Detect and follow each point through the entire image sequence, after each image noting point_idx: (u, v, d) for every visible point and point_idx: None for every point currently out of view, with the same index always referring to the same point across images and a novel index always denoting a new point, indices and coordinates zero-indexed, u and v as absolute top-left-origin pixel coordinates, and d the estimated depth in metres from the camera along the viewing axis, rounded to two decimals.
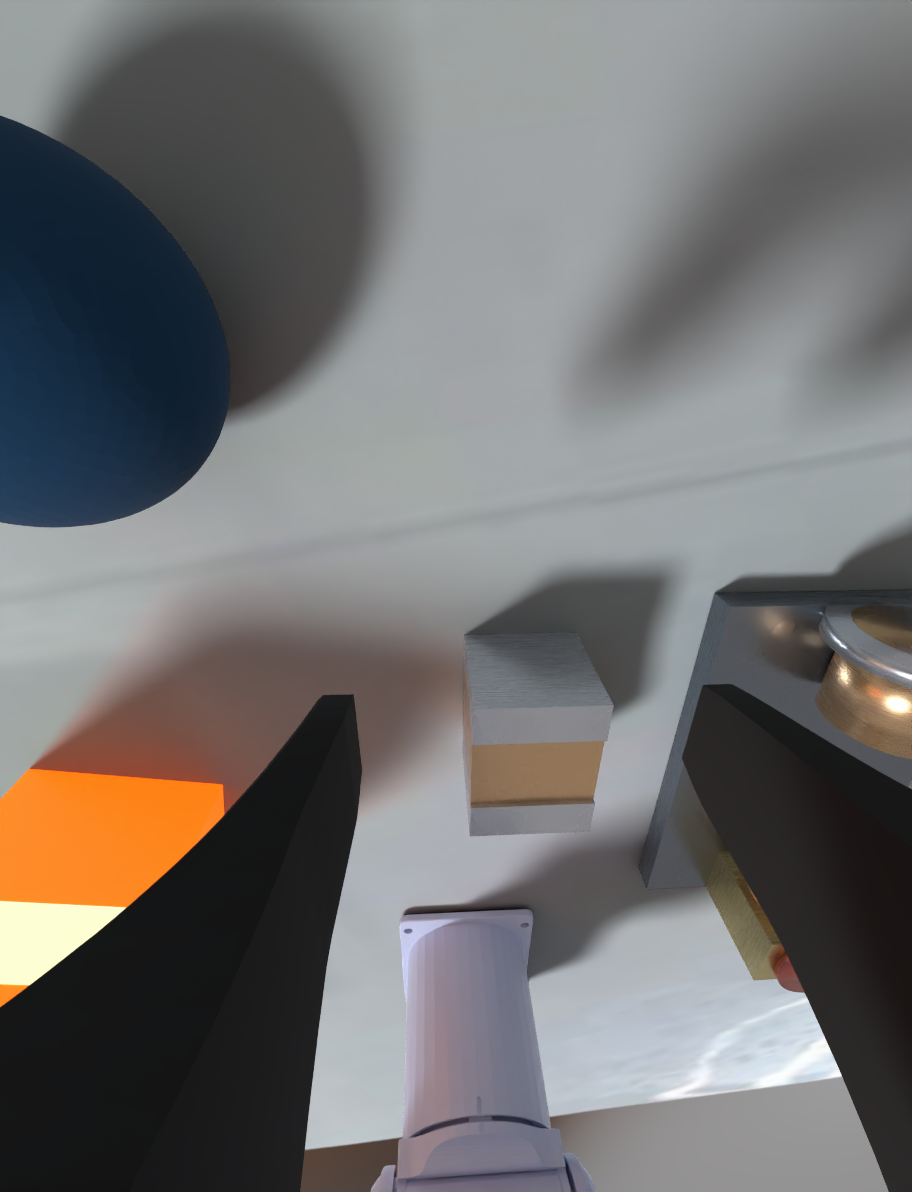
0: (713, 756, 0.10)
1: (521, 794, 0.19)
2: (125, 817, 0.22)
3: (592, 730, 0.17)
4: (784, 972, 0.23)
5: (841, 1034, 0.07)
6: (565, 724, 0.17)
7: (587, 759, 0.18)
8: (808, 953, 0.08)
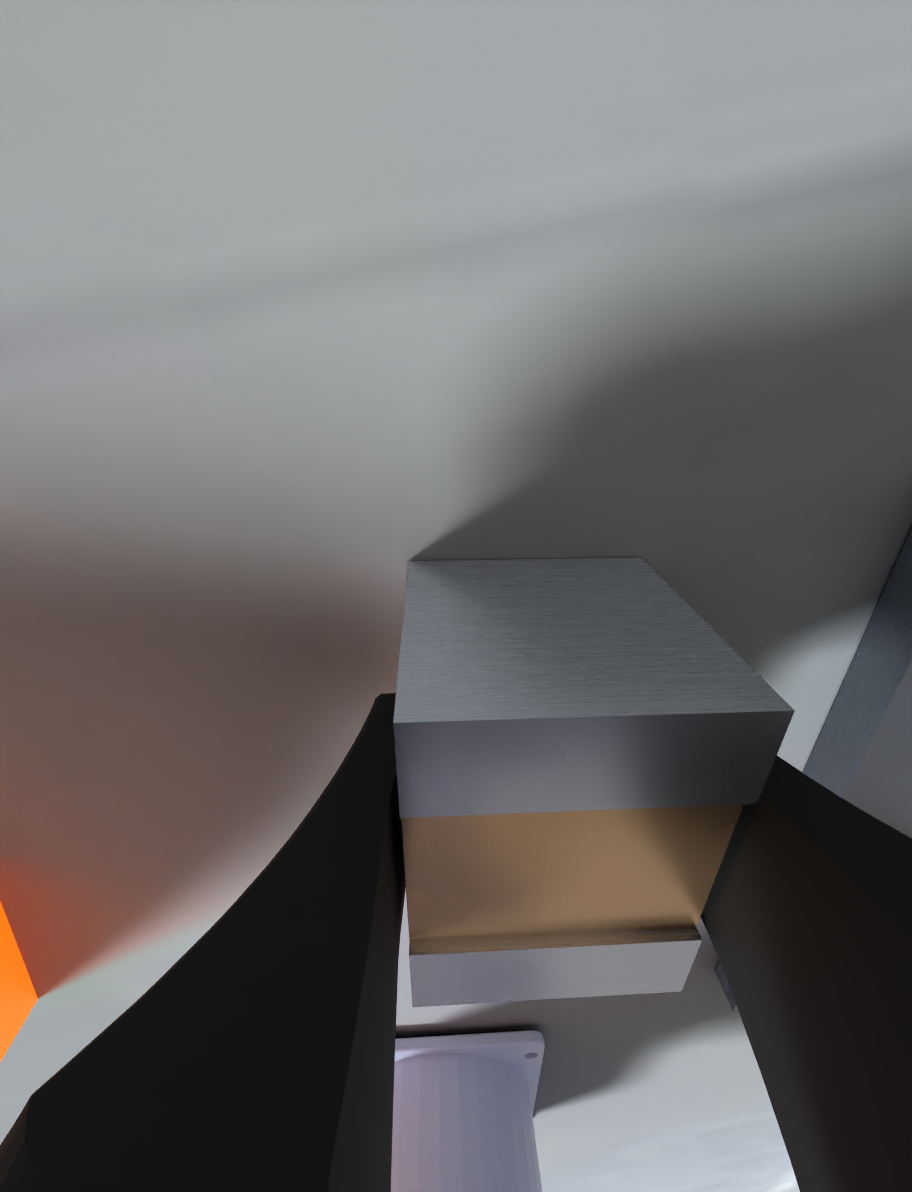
0: None
1: (530, 921, 0.08)
2: None
3: (723, 778, 0.06)
4: None
5: (763, 1039, 0.07)
6: (652, 764, 0.06)
7: (695, 845, 0.07)
8: (736, 957, 0.07)
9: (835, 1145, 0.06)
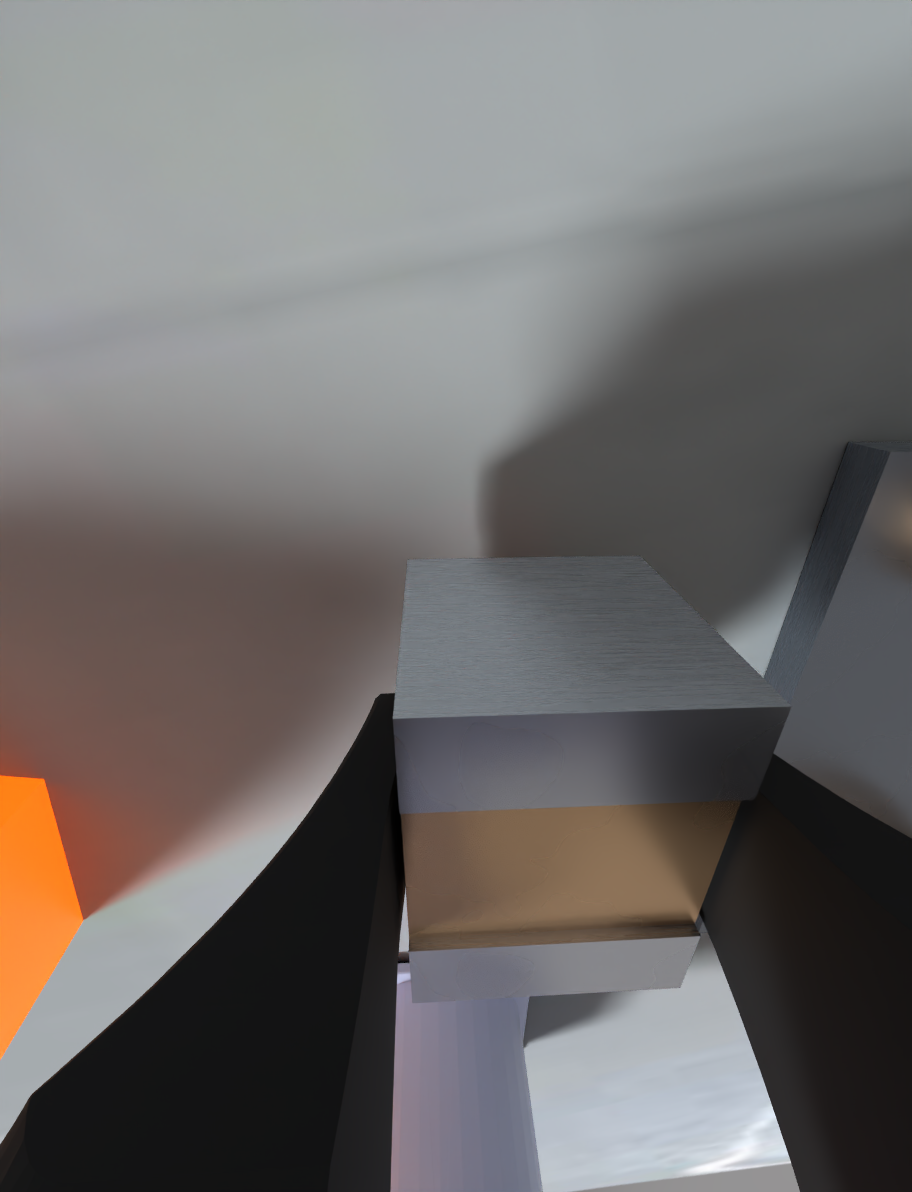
0: None
1: (529, 917, 0.08)
2: None
3: (721, 774, 0.06)
4: None
5: (763, 1039, 0.07)
6: (650, 760, 0.06)
7: (693, 841, 0.07)
8: (736, 957, 0.07)
9: (835, 1145, 0.06)
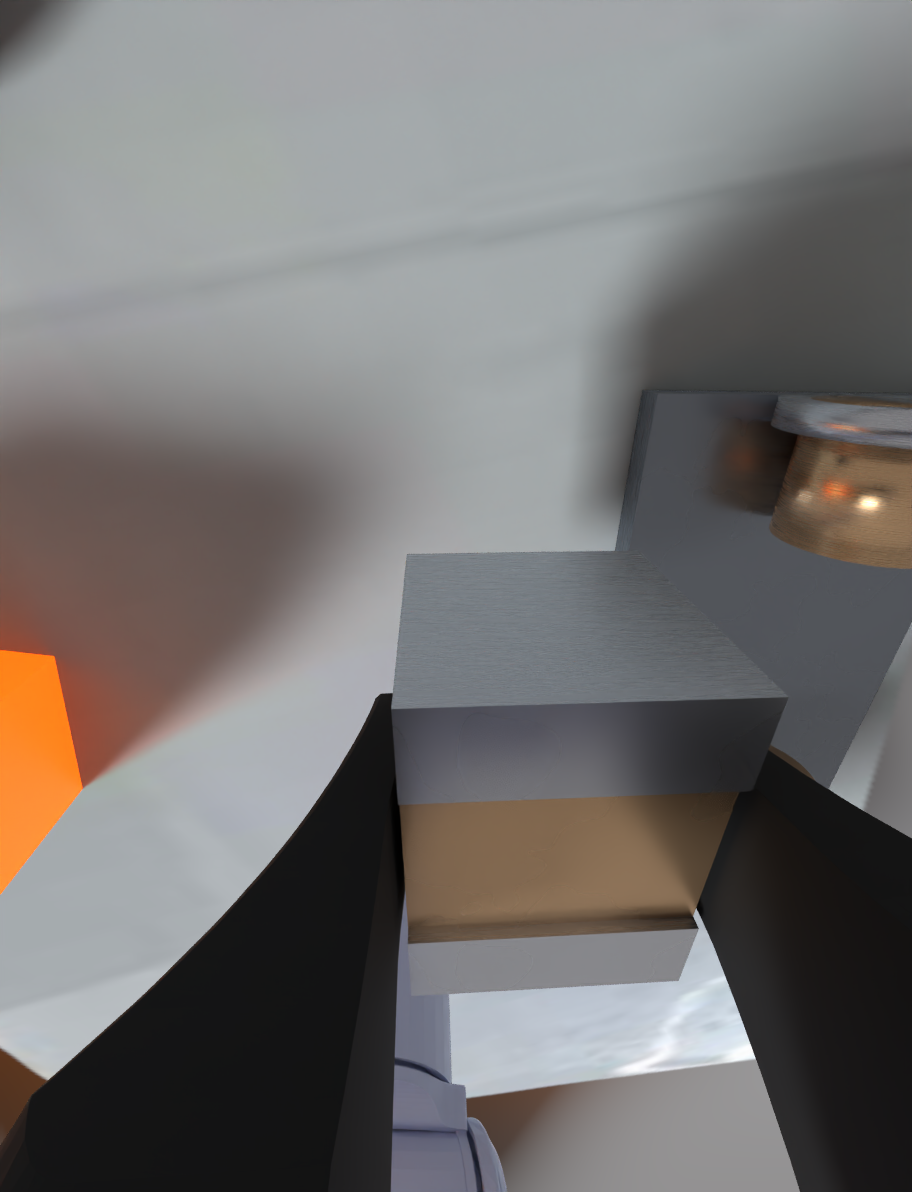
0: None
1: (527, 910, 0.08)
2: None
3: (718, 765, 0.06)
4: None
5: (763, 1039, 0.07)
6: (648, 750, 0.06)
7: (691, 833, 0.07)
8: (736, 957, 0.07)
9: (835, 1145, 0.06)
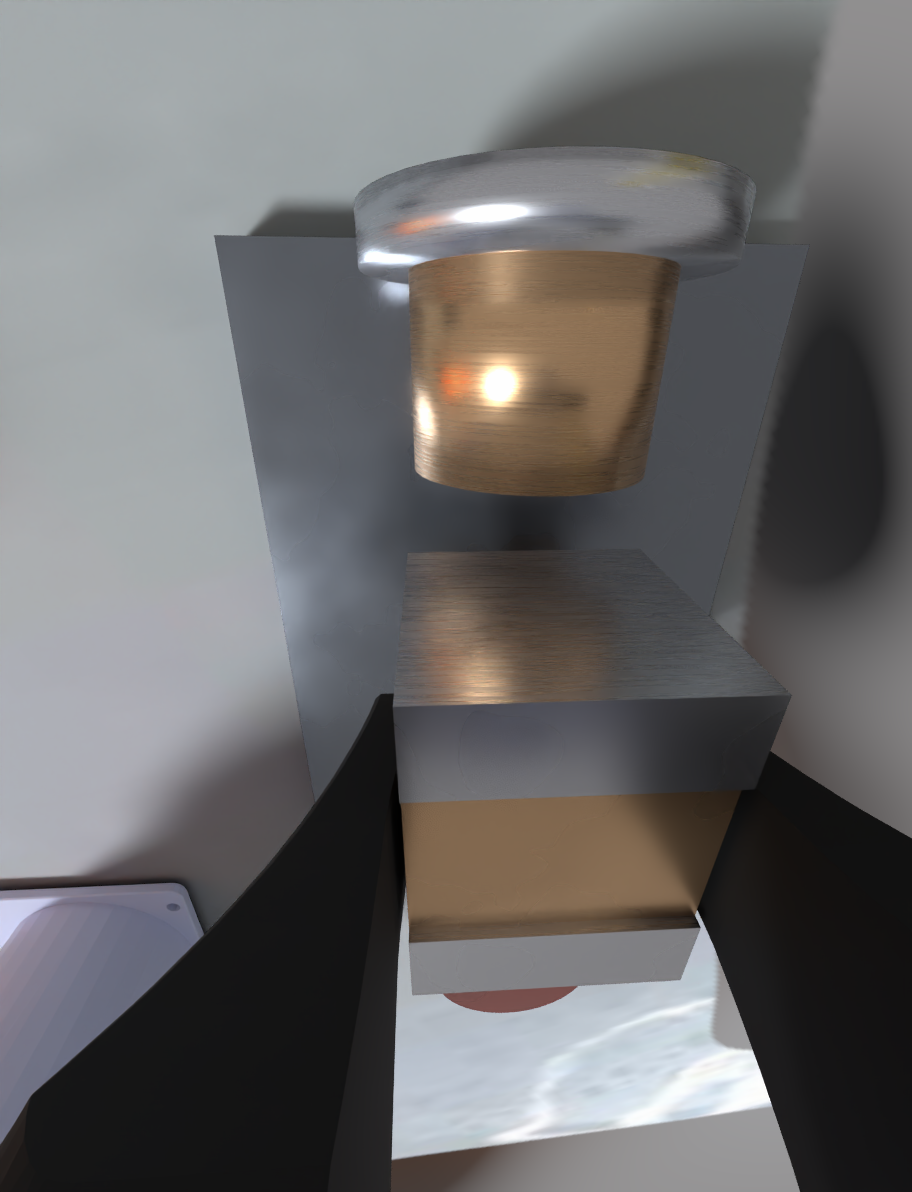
0: None
1: (529, 909, 0.08)
2: None
3: (721, 763, 0.06)
4: None
5: (763, 1039, 0.07)
6: (651, 749, 0.06)
7: (693, 831, 0.07)
8: (736, 957, 0.07)
9: (835, 1145, 0.06)
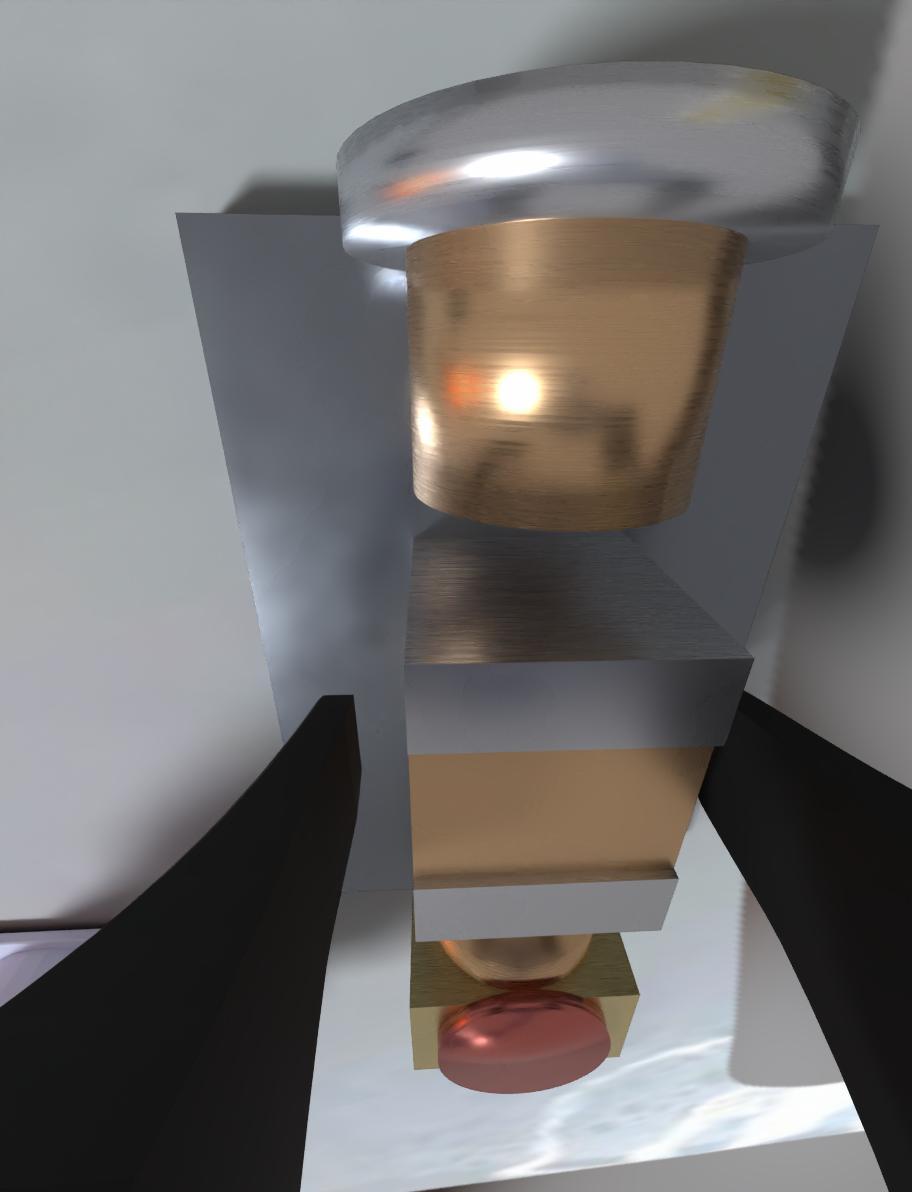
0: (713, 756, 0.10)
1: (522, 860, 0.09)
2: None
3: (694, 721, 0.07)
4: (446, 1061, 0.11)
5: (841, 1034, 0.07)
6: (631, 707, 0.07)
7: (671, 787, 0.08)
8: (808, 953, 0.08)
9: None
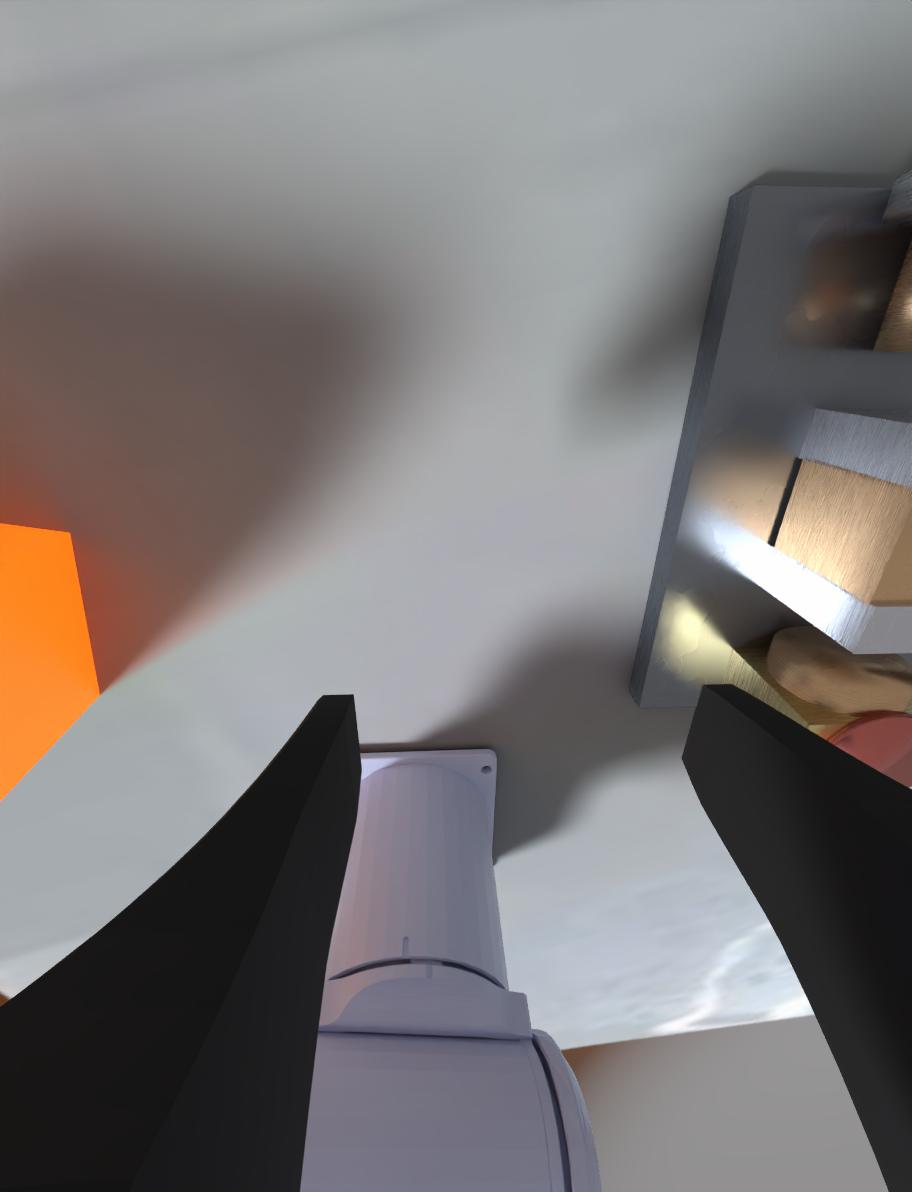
0: (713, 756, 0.10)
1: None
2: None
3: None
4: None
5: (841, 1034, 0.07)
6: None
7: None
8: (808, 953, 0.08)
9: None
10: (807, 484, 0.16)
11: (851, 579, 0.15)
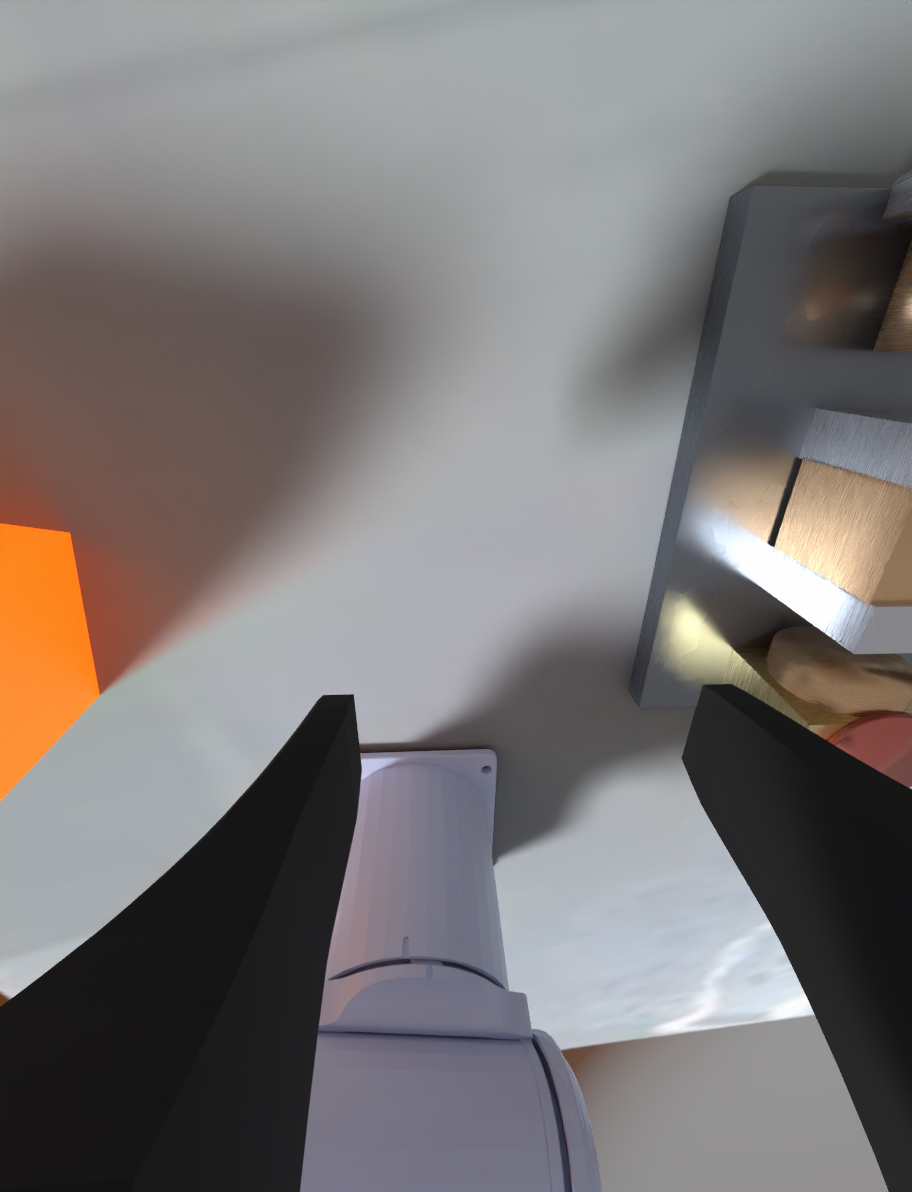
0: (713, 756, 0.10)
1: None
2: None
3: None
4: None
5: (841, 1034, 0.07)
6: None
7: None
8: (808, 953, 0.08)
9: None
10: (807, 484, 0.16)
11: (851, 579, 0.15)
